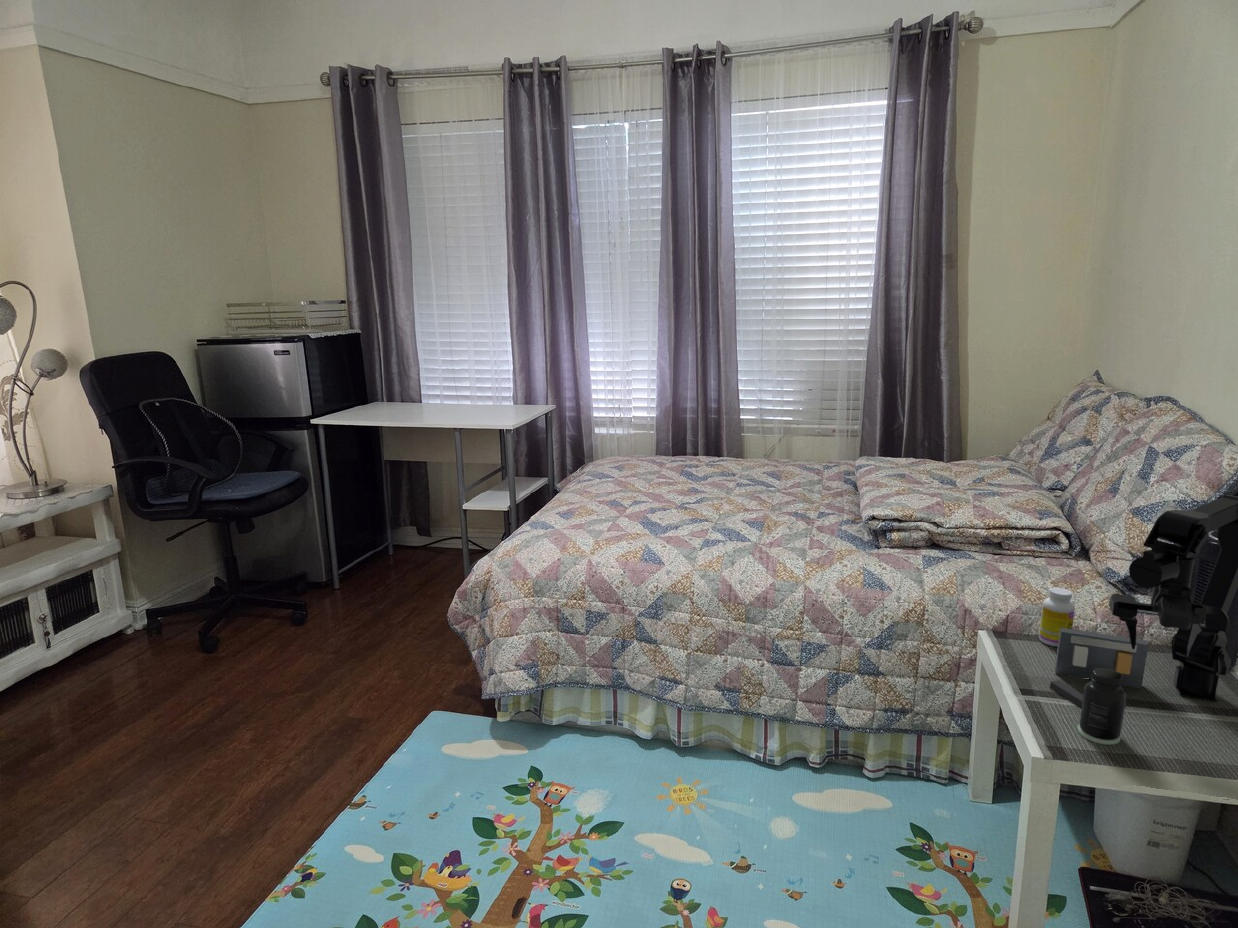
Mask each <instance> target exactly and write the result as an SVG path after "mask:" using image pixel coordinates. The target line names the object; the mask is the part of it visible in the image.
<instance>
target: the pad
mask: <svg viewBox="0 0 1238 928" xmlns="http://www.w3.org/2000/svg"><path fill="white" fill-rule="evenodd" d="M1077 732H1078V734H1079V735H1080V736H1081V737H1082V738H1084V739H1086V740H1088V741H1090V742H1091V743H1092V742H1093V743H1096V744H1098V745H1105V746H1113V745H1117V744H1119V743H1120V742H1121V737H1122V736H1121V735H1120V737H1119V738H1117V739H1115V740H1102V739H1098V738H1095V737H1092V736H1090V735H1088V734H1086V733H1085V732H1084V731H1083V730H1082V729H1081V728H1080V723H1079V724H1078V725H1077Z"/></svg>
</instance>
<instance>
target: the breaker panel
mask: <svg viewBox="0 0 1238 928" xmlns="http://www.w3.org/2000/svg"><path fill="white" fill-rule="evenodd" d="M1075 645H1076V646H1082V647H1088V656H1087V663H1086V667H1080V666H1074V665H1073V663H1072V662H1073V654H1074V647H1075ZM1148 650H1149V643H1148V640H1147V639H1141V638H1140V639H1139V638H1136V646H1135V649H1132V647H1131V643H1130V638H1129V636H1128V637H1126V636H1120V635H1119V636H1118V635H1113V634H1107V633H1100V632H1093V631H1087V630H1080V629H1073V628H1072V629H1068V628H1061V627H1060V634H1059V641H1058V647H1057V650H1056V657H1055V658H1056V659H1055V665H1054V673H1056V674H1055V675H1058V676H1059V675H1060V676H1064V677H1069V676H1071V678H1075V677H1078V678H1077V679H1081V678H1089V679H1091V678H1092V675H1093V670H1094V669H1097V668H1106V669H1111V670H1114V671H1116V670H1115V668H1116V662H1117V655H1118V652H1120V653H1127V654H1131V655H1132V663H1131V669H1130V675H1129V674H1123V673H1120V674H1121V675H1122V677H1123V679H1122V685H1124V686H1125V687H1130V688H1134V689H1142V687H1143V681H1144V673H1145V669H1146V662H1147V656H1148ZM1124 686H1123V687H1124Z"/></svg>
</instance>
